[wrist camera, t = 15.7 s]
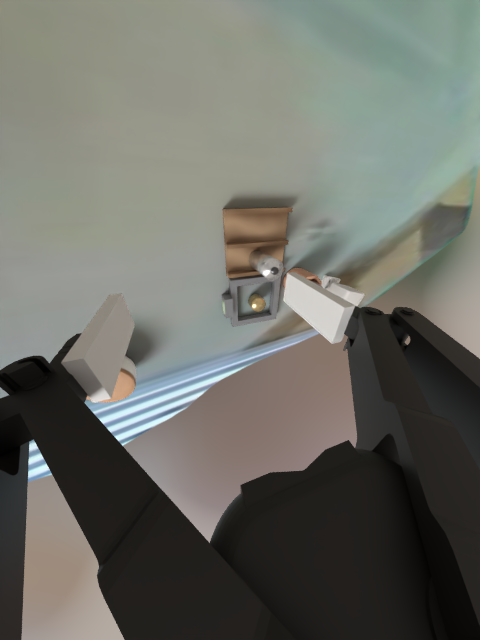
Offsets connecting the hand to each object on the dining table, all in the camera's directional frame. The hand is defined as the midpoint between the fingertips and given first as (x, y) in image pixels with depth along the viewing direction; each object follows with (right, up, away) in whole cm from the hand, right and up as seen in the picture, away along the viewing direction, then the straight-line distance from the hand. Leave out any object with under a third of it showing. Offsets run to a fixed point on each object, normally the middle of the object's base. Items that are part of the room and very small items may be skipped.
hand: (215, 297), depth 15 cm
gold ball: (+6, +4, +33) cm, 34 cm away
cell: (+6, +12, +27) cm, 30 cm away
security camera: (+28, +8, +39) cm, 48 cm away
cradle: (+5, +4, +33) cm, 33 cm away
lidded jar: (-30, -13, +31) cm, 45 cm away
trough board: (+5, +15, +25) cm, 30 cm away
